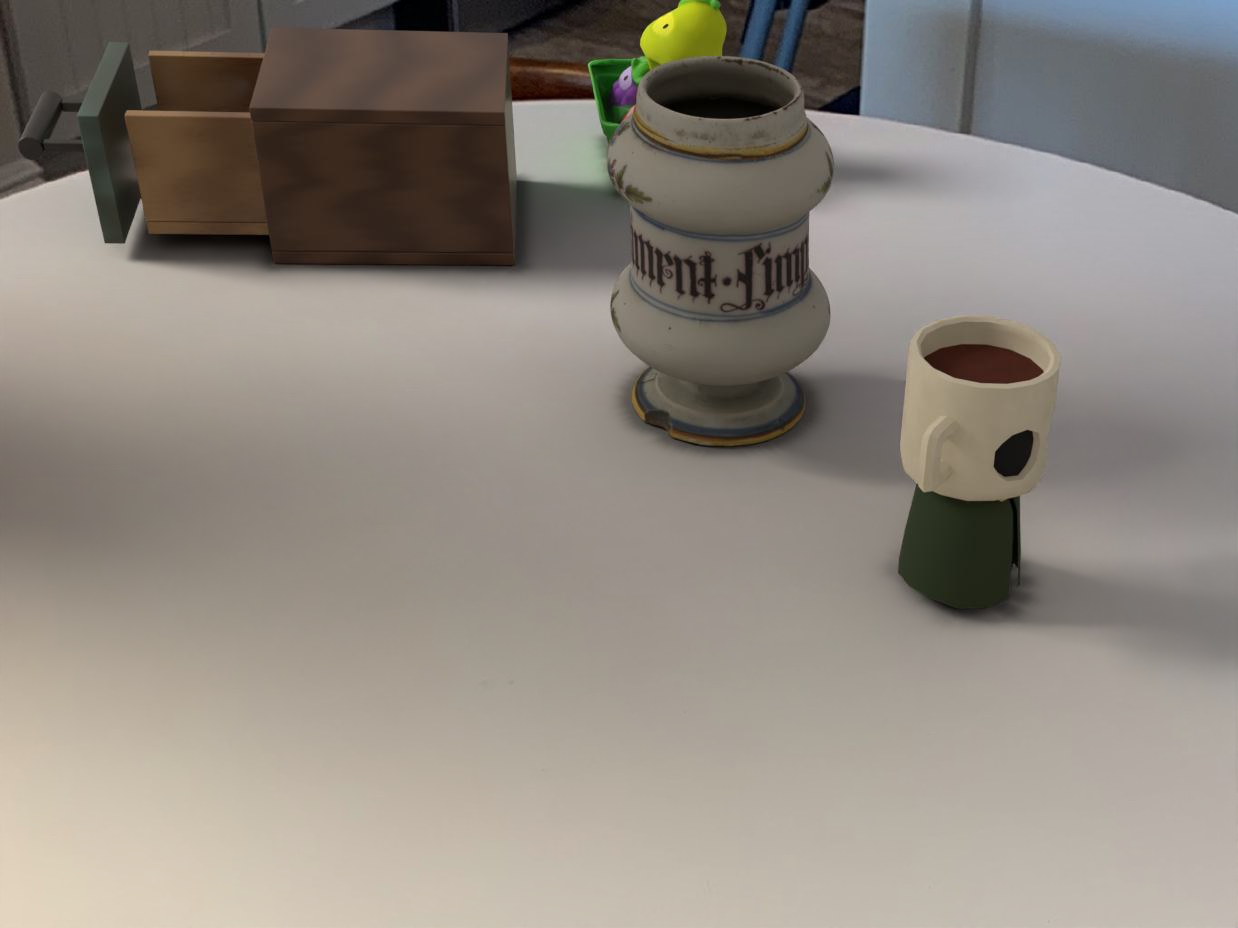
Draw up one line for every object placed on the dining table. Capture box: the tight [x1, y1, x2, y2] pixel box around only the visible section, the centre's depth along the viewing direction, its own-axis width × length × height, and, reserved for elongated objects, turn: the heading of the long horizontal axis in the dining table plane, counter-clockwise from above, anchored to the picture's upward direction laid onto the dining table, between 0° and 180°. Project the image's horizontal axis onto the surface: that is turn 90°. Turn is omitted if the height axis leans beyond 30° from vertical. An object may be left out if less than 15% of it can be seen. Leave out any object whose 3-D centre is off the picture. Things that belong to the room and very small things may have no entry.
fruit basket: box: [587, 0, 728, 145], centre depth 127 cm, size 11×9×11 cm
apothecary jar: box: [606, 55, 835, 447], centre depth 102 cm, size 12×12×18 cm
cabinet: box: [249, 27, 518, 266], centre depth 119 cm, size 15×13×10 cm
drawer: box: [17, 41, 269, 245], centre depth 117 cm, size 18×11×8 cm, turn 97°
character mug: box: [897, 314, 1062, 609], centre depth 92 cm, size 11×7×13 cm, turn 151°
